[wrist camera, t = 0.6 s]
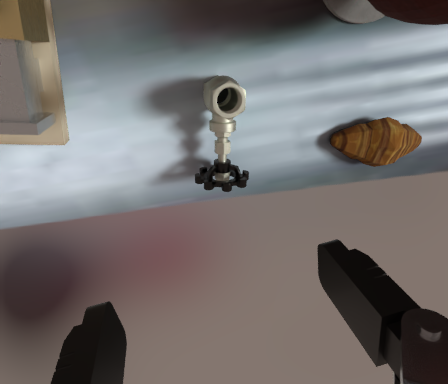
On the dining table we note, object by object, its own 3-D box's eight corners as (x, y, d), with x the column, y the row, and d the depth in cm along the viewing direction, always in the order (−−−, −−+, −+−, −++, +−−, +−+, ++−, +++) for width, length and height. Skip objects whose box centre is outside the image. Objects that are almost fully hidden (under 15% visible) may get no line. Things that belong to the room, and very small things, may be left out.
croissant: (322, 162, 43) (341, 175, 38) (331, 113, 40) (353, 121, 35) (404, 160, 45) (431, 172, 41) (418, 114, 42) (449, 122, 38)
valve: (188, 73, 34) (192, 172, 39) (195, 78, 28) (198, 194, 33) (245, 73, 35) (241, 169, 40) (262, 78, 30) (256, 189, 35)
